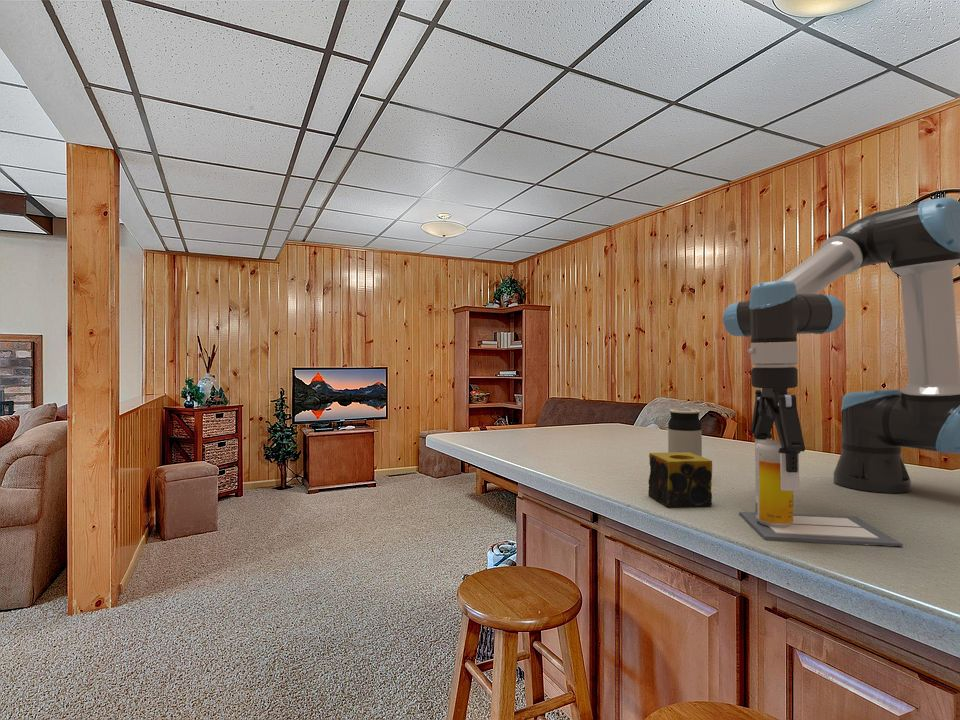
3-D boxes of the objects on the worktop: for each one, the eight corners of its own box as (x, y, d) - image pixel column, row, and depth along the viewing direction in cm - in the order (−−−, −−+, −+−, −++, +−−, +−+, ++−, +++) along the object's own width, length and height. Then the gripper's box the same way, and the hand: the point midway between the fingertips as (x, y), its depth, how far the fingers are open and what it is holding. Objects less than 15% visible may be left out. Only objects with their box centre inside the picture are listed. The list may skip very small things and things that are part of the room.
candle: (647, 496, 121) (647, 452, 121) (690, 495, 122) (690, 451, 122) (666, 508, 111) (666, 461, 111) (713, 507, 112) (713, 460, 112)
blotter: (856, 519, 103) (856, 515, 103) (902, 547, 88) (902, 542, 88) (739, 514, 107) (739, 510, 107) (764, 539, 92) (764, 535, 92)
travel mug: (667, 482, 134) (667, 410, 134) (669, 475, 142) (668, 408, 142) (701, 484, 131) (701, 411, 131) (701, 478, 139) (701, 409, 139)
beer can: (798, 529, 95) (798, 445, 95) (761, 527, 96) (761, 444, 96) (785, 519, 101) (785, 439, 101) (751, 517, 102) (751, 439, 102)
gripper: (733, 364, 111) (735, 466, 112) (775, 368, 87) (778, 498, 87) (772, 364, 110) (774, 466, 110) (826, 367, 85) (829, 499, 86)
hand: (775, 481), depth 99 cm, fingers open, 13 cm apart
